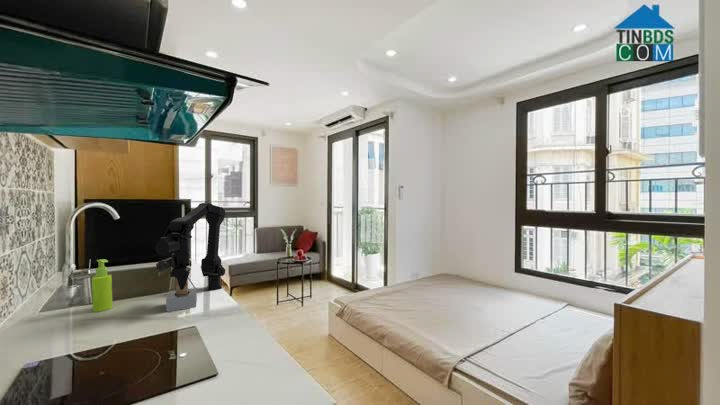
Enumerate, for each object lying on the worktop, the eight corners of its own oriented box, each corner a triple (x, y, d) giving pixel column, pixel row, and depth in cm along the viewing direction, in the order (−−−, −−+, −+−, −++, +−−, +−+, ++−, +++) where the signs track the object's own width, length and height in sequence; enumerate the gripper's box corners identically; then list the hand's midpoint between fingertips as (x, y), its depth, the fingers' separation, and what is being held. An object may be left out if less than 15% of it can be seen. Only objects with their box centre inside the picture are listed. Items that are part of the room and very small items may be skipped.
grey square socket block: (169, 303, 122) (169, 291, 122) (196, 299, 127) (196, 288, 127) (166, 311, 113) (166, 299, 113) (196, 307, 118) (195, 294, 118)
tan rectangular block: (176, 292, 121) (176, 276, 120) (188, 291, 122) (187, 274, 122) (176, 295, 118) (175, 277, 118) (187, 293, 120) (187, 276, 120)
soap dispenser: (97, 313, 113) (95, 262, 112) (90, 310, 116) (88, 260, 116) (116, 308, 118) (114, 259, 117) (108, 305, 121) (107, 257, 121)
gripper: (160, 248, 124) (162, 285, 125) (153, 257, 108) (154, 298, 108) (191, 246, 129) (192, 281, 130) (188, 253, 113) (189, 293, 113)
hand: (182, 288), depth 120 cm, fingers closed on tan rectangular block, 3 cm apart
